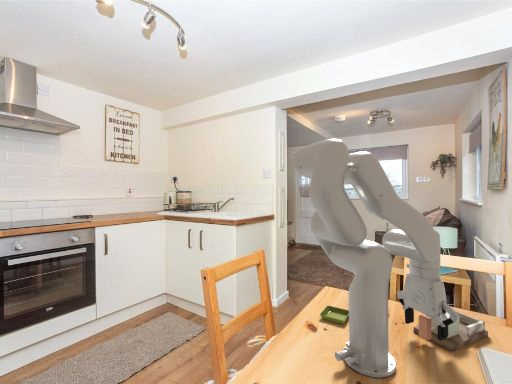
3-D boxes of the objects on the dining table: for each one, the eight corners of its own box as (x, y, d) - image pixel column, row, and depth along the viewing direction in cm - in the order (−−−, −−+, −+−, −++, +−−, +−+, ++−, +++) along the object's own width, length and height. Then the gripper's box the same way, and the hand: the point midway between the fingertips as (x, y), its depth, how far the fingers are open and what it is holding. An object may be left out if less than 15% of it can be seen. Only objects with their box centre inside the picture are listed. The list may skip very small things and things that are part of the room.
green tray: (319, 320, 90) (319, 314, 90) (327, 310, 97) (327, 304, 97) (344, 327, 85) (344, 321, 85) (351, 316, 92) (351, 310, 92)
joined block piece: (433, 343, 72) (433, 322, 72) (412, 333, 77) (412, 313, 77) (459, 333, 76) (459, 313, 76) (438, 324, 82) (438, 305, 82)
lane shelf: (451, 351, 71) (451, 337, 71) (413, 331, 81) (413, 318, 81) (488, 336, 78) (487, 322, 78) (448, 319, 88) (448, 308, 88)
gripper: (389, 265, 81) (389, 319, 81) (448, 283, 65) (449, 350, 65) (405, 262, 84) (406, 314, 84) (466, 279, 68) (466, 343, 68)
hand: (425, 330), depth 75 cm, fingers open, 9 cm apart
